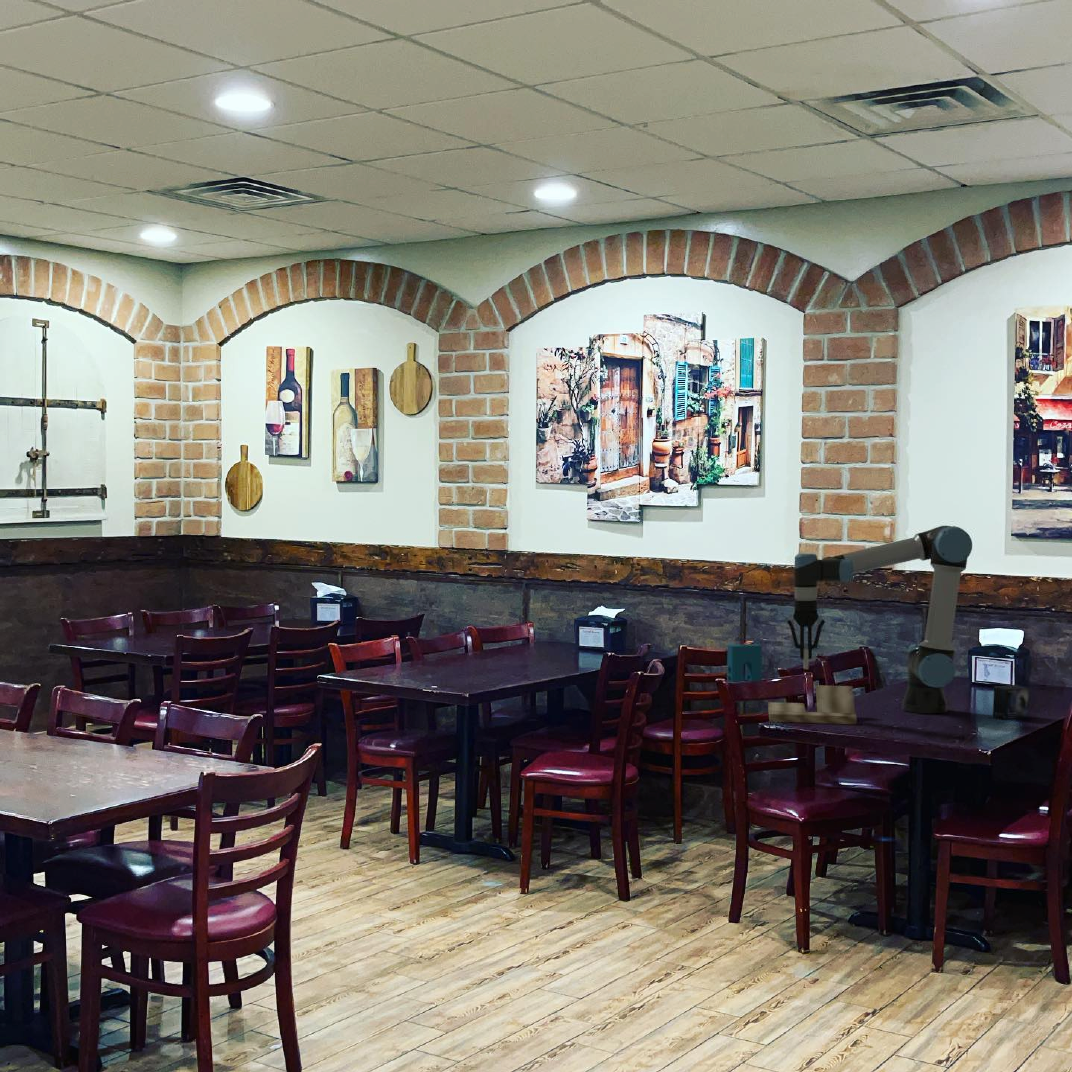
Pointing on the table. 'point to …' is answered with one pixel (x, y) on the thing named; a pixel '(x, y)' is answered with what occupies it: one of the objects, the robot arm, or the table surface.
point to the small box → (1010, 702)
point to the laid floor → (812, 717)
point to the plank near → (835, 699)
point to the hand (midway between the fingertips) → (806, 668)
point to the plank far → (786, 707)
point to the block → (741, 656)
